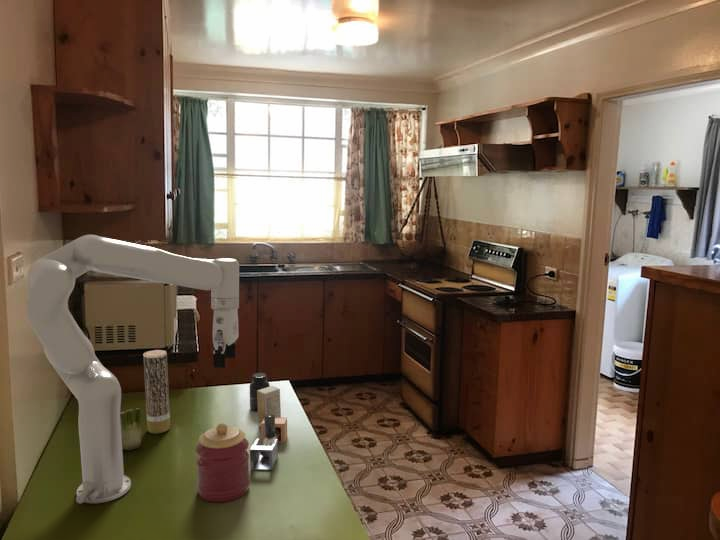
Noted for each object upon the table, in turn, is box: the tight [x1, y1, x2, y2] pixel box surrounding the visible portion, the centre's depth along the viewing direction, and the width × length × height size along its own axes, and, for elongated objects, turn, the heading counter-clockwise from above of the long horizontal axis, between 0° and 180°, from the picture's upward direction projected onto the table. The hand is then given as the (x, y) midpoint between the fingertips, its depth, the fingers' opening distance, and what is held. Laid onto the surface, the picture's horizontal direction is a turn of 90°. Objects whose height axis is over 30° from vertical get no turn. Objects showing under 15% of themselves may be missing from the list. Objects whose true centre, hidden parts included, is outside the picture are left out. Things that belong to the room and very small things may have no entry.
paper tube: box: [142, 349, 171, 435], centre depth 180 cm, size 7×7×25 cm
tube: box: [260, 414, 280, 457], centre depth 168 cm, size 12×4×10 cm, turn 178°
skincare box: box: [257, 385, 282, 428], centre depth 184 cm, size 6×4×12 cm
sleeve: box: [249, 438, 279, 471], centre depth 160 cm, size 8×6×6 cm
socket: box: [260, 417, 288, 444], centre depth 175 cm, size 4×7×6 cm, turn 88°
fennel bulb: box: [120, 407, 143, 451], centre depth 168 cm, size 6×5×12 cm
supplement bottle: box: [249, 372, 271, 413], centre depth 198 cm, size 7×7×12 cm
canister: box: [195, 422, 251, 503], centre depth 145 cm, size 13×13×18 cm
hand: (224, 362), depth 163 cm, fingers open, 9 cm apart
